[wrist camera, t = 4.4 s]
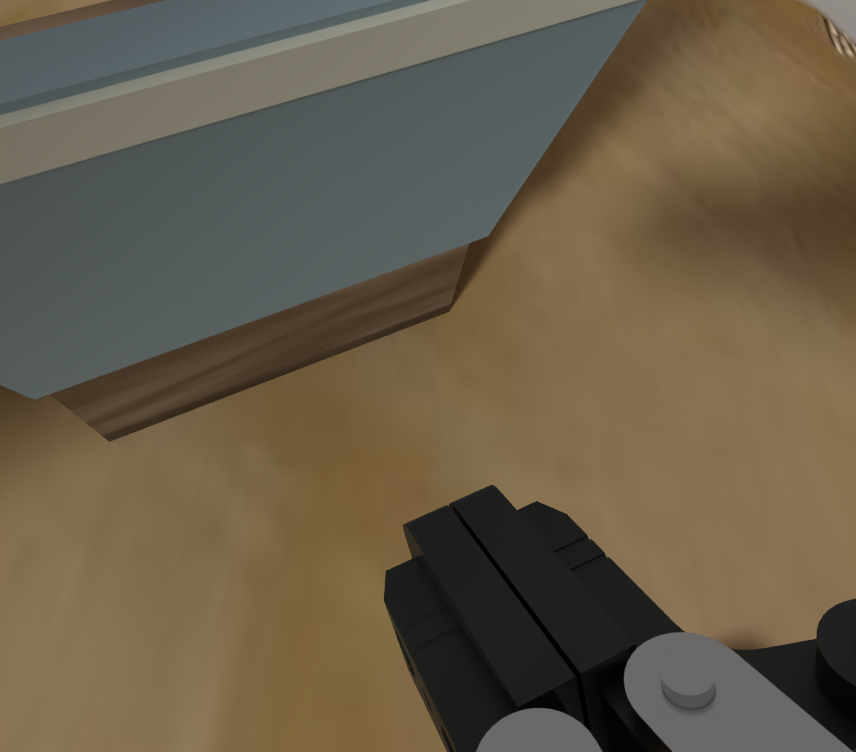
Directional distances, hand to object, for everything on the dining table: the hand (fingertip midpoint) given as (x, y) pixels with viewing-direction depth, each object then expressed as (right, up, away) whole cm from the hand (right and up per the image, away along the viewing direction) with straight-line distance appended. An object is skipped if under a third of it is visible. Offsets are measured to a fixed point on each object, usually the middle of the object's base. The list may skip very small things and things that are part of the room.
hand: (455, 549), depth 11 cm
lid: (-5, +7, +8) cm, 12 cm away
